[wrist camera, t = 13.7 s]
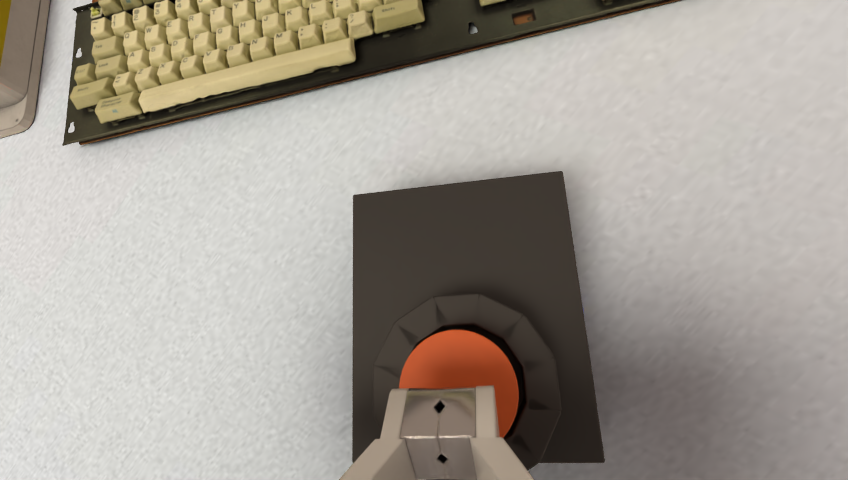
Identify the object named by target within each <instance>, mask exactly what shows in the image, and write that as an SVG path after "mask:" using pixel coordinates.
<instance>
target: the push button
mask: <svg viewBox="0 0 848 480" xmlns="http://www.w3.org/2000/svg"><path fill="white" fill-rule="evenodd" d="M490 385H494V389H495V397H496V406H497V415H498V425H499V436H500V437H504V436H505V435H506V434H507V432H508V431H509V429H510V427H511V426H512V424H513V421H514V419H515V416H516V413H517V408H518V401H519V389H518V383H517V378H516V375H515V372H514V369H513V367H512V365H511V363H510V361H509V359H508V358H507V356H506V355H505V354H504V352H503V351H502V350H501V349H500V348H499V347H498V346H497V345H496V344H494V343H493V342H492V341H491V340H489V339H487V338H486V337H484V336H482V335H480V334H478V333H475V332H471V331H467V330H446V331H442V332H439V333H436V334H434V335H431V336H430V337H428V338H426V339H425V340H424V341H422V342H421V343H420V344H419V345H418V346H417V347H416V348H415V349H414V350H413V351H412V353H411V354H410V355H409V357H408V359H407V360H406V362H405V365H404V367H403V369H402V373H401V377H400V383H399V389H401V388H442V387H459V386H490Z"/></svg>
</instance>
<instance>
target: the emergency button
mask: <svg viewBox="0 0 848 480" xmlns="http://www.w3.org/2000/svg"><path fill="white" fill-rule="evenodd" d="M49 4H50V0H0V138H3V137H6V136H10V135H13V134H17V133H20V132H23V131H25V130H27V129H28V128H29V127H30V125H31V124H32V122H33V119H34V116H35V109H36V102H37V94H38V87H39V79H40V72H41V64H42V57H43V49H44V42H45V34H46V26H47V19H48V11H49Z"/></svg>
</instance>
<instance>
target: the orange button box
mask: <svg viewBox="0 0 848 480" xmlns="http://www.w3.org/2000/svg"><path fill="white" fill-rule="evenodd" d="M446 330H467V331H471V332H475V333H478V334H480V335H482V336H484V337H486V338H487V339H489V340H491V341H492V342H493V343H494V344H496V345H497V346H498V347H499V348H500V349H501V350H502V351H503V352H504V354H505V355H506V356H507V358H508V359H509V361H510V363H511V365H512V367H513V369H514V372H515V375H516V378H517V383H518V389H519V401H518V408H517V413H516V416H515V419H514V421H513V424H512V426H511V427H510V429H509V431H508V432H507V434H506V435H505V436H504V437H503V439H504V440H505V441H506V443H507V444H508V445H509V447H510V448H511V449H512V451H513V452H514V453H515V455H516V456H517V457H518V459H519V460H520V461H521V463H522V464H523V465H524V467H525V468H526V469H527V471H528V470H529V469H531V468H532V467H534V466H535V465H537V464H538V463H604V462H605V458H604V451H603V444H602V438H601V431H600V424H599V417H598V410H597V403H596V396H595V390H594V383H593V376H592V369H591V362H590V355H589V348H588V342H587V335H586V328H585V321H584V314H583V307H582V300H581V294H580V287H579V280H578V273H577V266H576V259H575V252H574V246H573V239H572V232H571V225H570V218H569V211H568V204H567V198H566V191H565V184H564V177H563V172H562V171H558V172H549V173H540V174H532V175H523V176H514V177H506V178H497V179H488V180H480V181H471V182H462V183H454V184H445V185H436V186H428V187H419V188H410V189H402V190H393V191H384V192H376V193H367V194H358V195H353V454H352V461H353V463H354V462H355V461H356V460H357V459H358V458H359V457H360V455H361V454H362V453H363V452H364V451H365V450H366V449H367V448H368V446H369V445H370V444H371V443H372V442H373V441H374V440H375V439H380V436H381V432H382V427H383V422H384V417H385V413H386V408H387V403H388V398H389V394H390V392H391V390H392V389H399V383H400V377H401V373H402V369H403V367H404V365H405V362H406V360H407V359H408V357H409V355H410V354H411V353H412V351H413V350H414V349H415V348H416V347H417V346H418V345H419V344H420V343H421V342H422V341H424V340H425V339H426V338H428V337H430V336H431V335H434V334H436V333H439V332H442V331H446ZM431 480H461V479H431Z"/></svg>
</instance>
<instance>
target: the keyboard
mask: <svg viewBox="0 0 848 480" xmlns="http://www.w3.org/2000/svg"><path fill="white" fill-rule="evenodd" d="M676 1H680V0H92V3H90V4H87V5H84V6H80V7H77V8H73V10H74V11H76V12H77V17H76V18H77V19H76V28H75V37H74V49H73V61H72V70H71V77H70V88H69V96H68V108H67V119H66V127H65V134H64V142H63V144H62V145H63V146H64V145H67V144H71V143H75V142H79V144H80V145H84V144H88V143H93V142H96V141H100V140H104V139H109V138H112V137H117V136H121V135H125V134H129V133H133V132H137V131H141V130H145V129H150V128H154V127H158V126H162V125H167V124H171V123H175V122H179V121H183V120H187V119H191V118H196V117H200V116H204V115H208V114H212V113H216V112H220V111H225V110H229V109H233V108H237V107H242V106H246V105H250V104H255V103H259V102H263V101H267V100H271V99H276V98H280V97H284V96H288V95H292V94H296V93H300V92H304V91H308V90H312V89H317V88H321V87H325V86H329V85H333V84H337V83H341V82H345V81H349V80H354V79H358V78H362V77H366V76H370V75H374V74H378V73H383V72H387V71H391V70H395V69H399V68H403V67H407V66H411V65H415V64H419V63H424V62H428V61H432V60H436V59H440V58H444V57H448V56H452V55H456V54H460V53H465V52H469V51H473V50H477V49H481V48H485V47H489V46H493V45H497V44H501V43H506V42H509V41H513V40H518V39H522V38H526V37H530V36H535V35H539V34H543V33H547V32H551V31H555V30H559V29H563V28H567V27H571V26H575V25H579V24H583V23H588V22H592V21H596V20H600V19H604V18H608V17H613V16H617V15H621V14H625V13H630V12H633V11H638V10H642V9H646V8H650V7H655V6H659V5H663V4H667V3H672V2H676ZM88 7H89V8H88ZM81 10H83V11H81ZM471 22H473V23H474V25H475V27H476V28H477V29H478V32H477V33H474V34H469V32H468V29H469V23H471ZM79 48H81V52H82V56H81V57H80V58H76V53H77V51H78V49H79ZM71 122H74V126H75V131H74V132H72V133H68V129H69V127H70V123H71Z"/></svg>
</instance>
